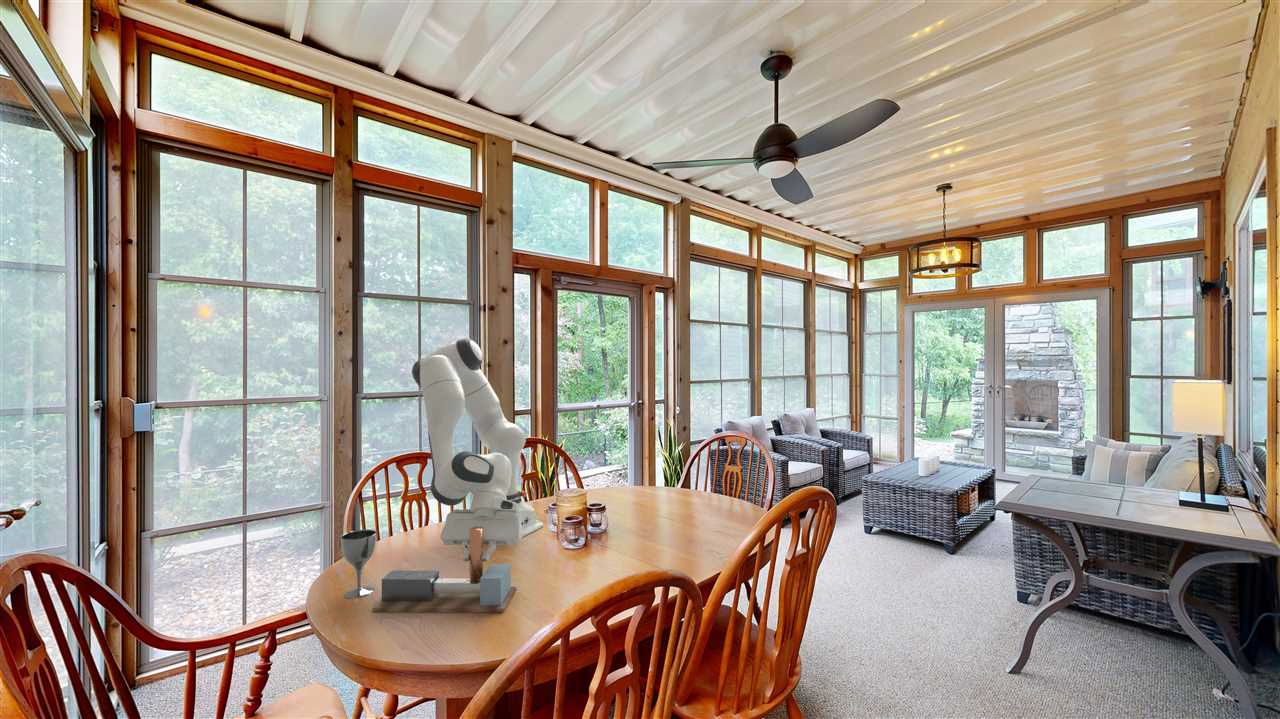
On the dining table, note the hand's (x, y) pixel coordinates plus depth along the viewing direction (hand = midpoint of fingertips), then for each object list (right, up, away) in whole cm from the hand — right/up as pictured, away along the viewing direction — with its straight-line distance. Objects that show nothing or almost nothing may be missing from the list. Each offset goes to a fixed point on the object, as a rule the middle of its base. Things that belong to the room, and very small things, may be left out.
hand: (475, 560), depth 130 cm
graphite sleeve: (-16, -9, +1) cm, 19 cm away
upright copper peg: (-4, -8, +1) cm, 9 cm away
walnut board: (-7, -10, +1) cm, 13 cm away
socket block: (+5, -9, +1) cm, 11 cm away
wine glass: (-32, -11, +6) cm, 34 cm away
